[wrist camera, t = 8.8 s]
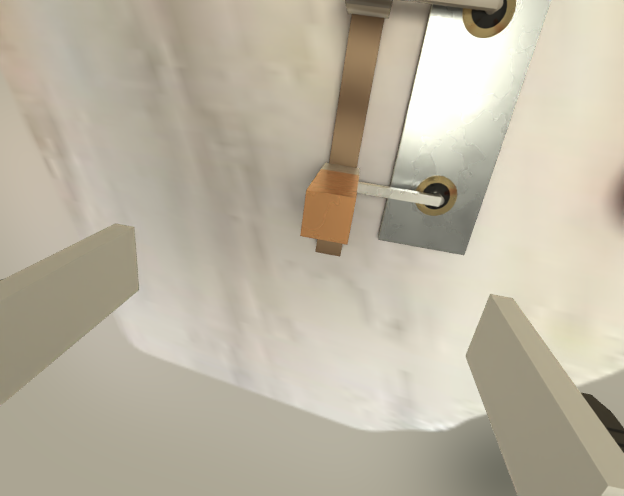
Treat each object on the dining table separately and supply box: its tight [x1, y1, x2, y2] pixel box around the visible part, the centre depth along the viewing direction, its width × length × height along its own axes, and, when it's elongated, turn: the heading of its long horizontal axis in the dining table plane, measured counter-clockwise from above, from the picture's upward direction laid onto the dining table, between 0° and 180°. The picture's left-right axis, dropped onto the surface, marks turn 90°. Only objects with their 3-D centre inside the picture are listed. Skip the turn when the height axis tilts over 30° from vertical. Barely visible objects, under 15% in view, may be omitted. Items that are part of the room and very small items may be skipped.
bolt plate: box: [378, 0, 551, 255], centre depth 29 cm, size 24×8×1 cm, turn 172°
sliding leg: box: [300, 163, 444, 244], centre depth 26 cm, size 3×10×11 cm, turn 82°
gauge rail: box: [315, 0, 503, 256], centre depth 26 cm, size 28×10×7 cm, turn 172°
